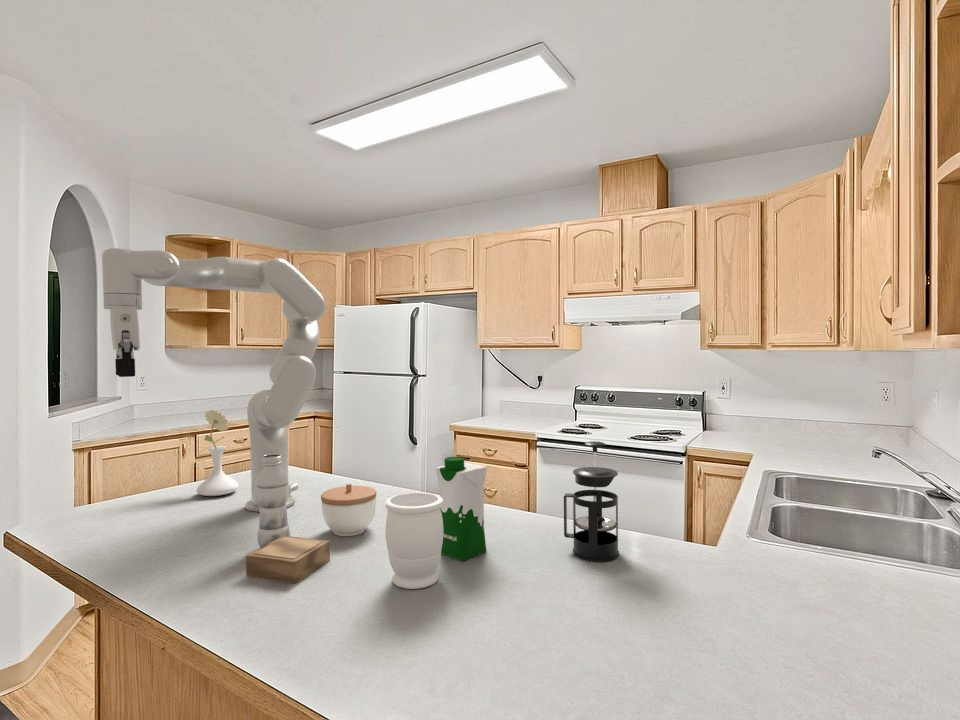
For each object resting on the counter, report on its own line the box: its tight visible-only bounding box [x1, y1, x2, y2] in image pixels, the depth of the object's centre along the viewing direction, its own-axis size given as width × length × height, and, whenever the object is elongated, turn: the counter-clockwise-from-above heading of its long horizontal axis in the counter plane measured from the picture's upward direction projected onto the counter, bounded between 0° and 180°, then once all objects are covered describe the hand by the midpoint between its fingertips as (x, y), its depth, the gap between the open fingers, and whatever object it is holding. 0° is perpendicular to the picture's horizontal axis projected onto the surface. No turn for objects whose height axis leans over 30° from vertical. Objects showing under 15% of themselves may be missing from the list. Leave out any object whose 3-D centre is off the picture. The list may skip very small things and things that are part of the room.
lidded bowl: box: [320, 483, 377, 537], centre depth 126 cm, size 13×13×11 cm
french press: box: [563, 440, 620, 563], centre depth 111 cm, size 12×9×23 cm
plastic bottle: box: [256, 454, 291, 548], centre depth 116 cm, size 6×7×20 cm
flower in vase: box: [196, 408, 240, 497], centre depth 160 cm, size 13×11×25 cm
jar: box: [385, 492, 443, 590], centre depth 99 cm, size 11×10×15 cm
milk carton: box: [435, 456, 488, 562], centre depth 112 cm, size 9×9×20 cm
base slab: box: [245, 535, 331, 584], centre depth 105 cm, size 11×11×4 cm
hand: (125, 375), depth 126 cm, fingers open, 9 cm apart
